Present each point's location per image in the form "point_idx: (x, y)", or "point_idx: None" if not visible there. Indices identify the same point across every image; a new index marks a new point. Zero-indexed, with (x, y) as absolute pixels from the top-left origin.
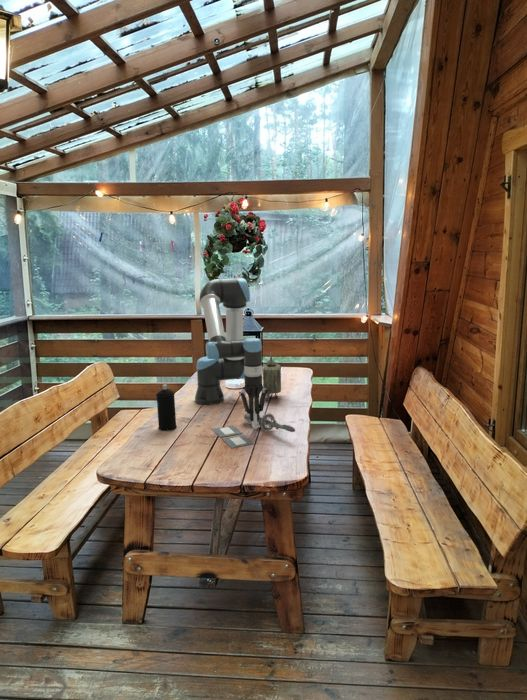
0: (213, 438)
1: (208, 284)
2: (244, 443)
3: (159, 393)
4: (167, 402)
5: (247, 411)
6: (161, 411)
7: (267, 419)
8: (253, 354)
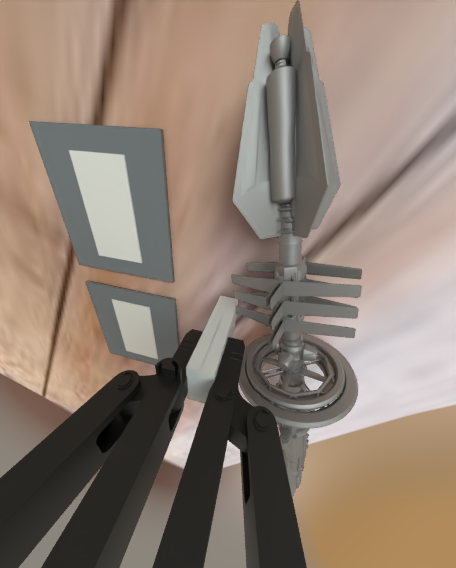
0: (56, 252)
1: None
2: (151, 357)
3: None
4: None
5: (119, 415)
6: None
7: (311, 360)
8: None
